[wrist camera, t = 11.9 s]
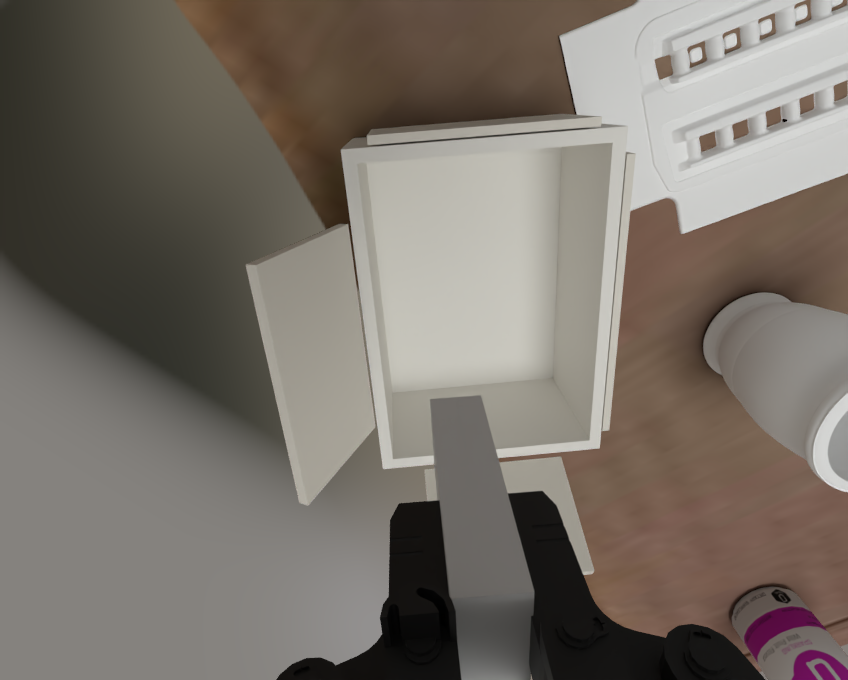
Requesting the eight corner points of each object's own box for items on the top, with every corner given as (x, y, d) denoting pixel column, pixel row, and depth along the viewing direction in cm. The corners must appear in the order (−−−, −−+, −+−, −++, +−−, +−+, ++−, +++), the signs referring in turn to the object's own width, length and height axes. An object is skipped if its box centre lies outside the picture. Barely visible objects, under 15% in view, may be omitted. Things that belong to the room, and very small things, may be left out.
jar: (816, 269, 44) (1008, 344, 30) (798, 374, 48) (959, 481, 35) (692, 291, 44) (827, 376, 30) (686, 393, 48) (802, 507, 35)
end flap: (435, 586, 32) (435, 589, 32) (594, 570, 32) (592, 573, 33) (424, 469, 37) (424, 473, 38) (560, 456, 37) (559, 460, 38)
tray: (952, 130, 40) (1001, 133, 37) (601, 256, 44) (616, 269, 41) (973, -203, 32) (1039, -238, 28) (537, -12, 36) (550, -24, 32)
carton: (350, 129, 37) (337, 138, 28) (579, 110, 37) (640, 113, 28) (383, 397, 47) (381, 469, 37) (565, 380, 47) (607, 447, 38)
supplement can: (720, 599, 61) (815, 742, 47) (789, 573, 60) (907, 712, 46) (736, 638, 64) (829, 782, 51) (801, 613, 63) (915, 755, 49)
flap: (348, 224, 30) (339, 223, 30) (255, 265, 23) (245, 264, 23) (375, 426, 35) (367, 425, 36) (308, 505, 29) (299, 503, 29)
